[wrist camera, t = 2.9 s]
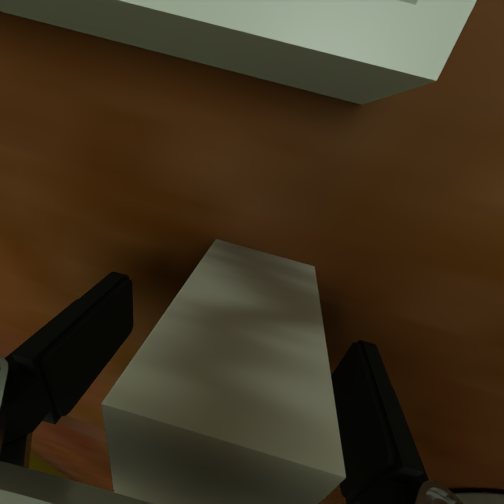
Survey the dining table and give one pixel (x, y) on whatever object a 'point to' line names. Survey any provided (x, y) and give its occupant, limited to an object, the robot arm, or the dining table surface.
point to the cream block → (230, 391)
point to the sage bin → (281, 37)
